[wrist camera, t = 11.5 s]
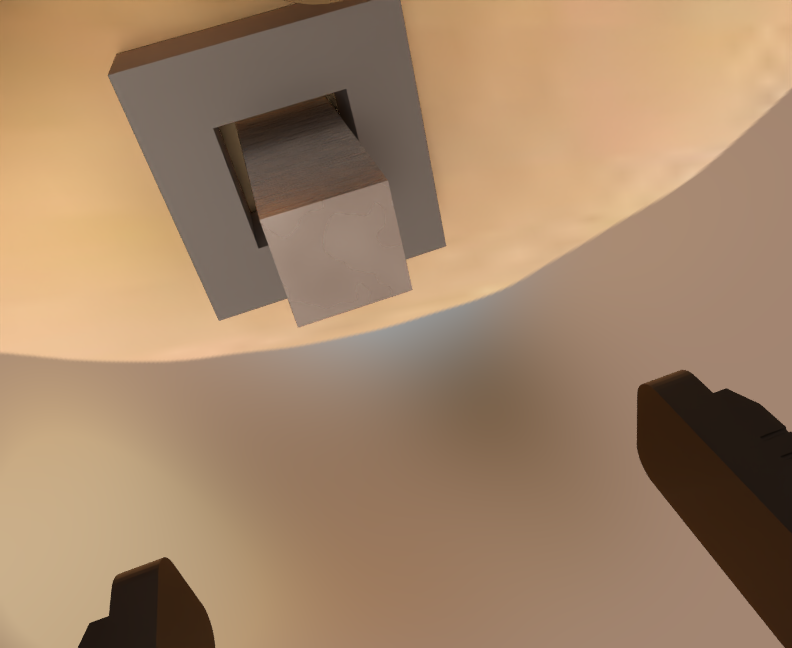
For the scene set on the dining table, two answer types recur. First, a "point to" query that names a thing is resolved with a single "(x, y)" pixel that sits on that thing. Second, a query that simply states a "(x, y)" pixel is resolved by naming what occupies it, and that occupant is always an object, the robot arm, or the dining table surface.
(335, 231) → the square bit
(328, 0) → the round bit
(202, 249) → the socket block
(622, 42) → the dining table surface
